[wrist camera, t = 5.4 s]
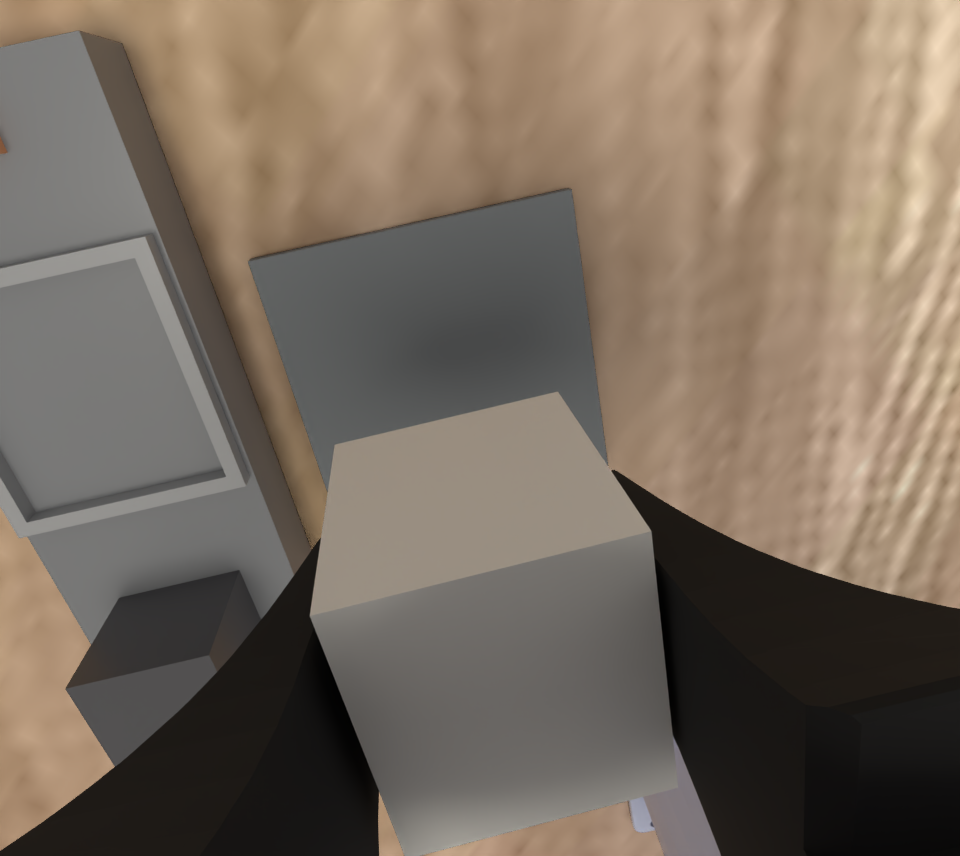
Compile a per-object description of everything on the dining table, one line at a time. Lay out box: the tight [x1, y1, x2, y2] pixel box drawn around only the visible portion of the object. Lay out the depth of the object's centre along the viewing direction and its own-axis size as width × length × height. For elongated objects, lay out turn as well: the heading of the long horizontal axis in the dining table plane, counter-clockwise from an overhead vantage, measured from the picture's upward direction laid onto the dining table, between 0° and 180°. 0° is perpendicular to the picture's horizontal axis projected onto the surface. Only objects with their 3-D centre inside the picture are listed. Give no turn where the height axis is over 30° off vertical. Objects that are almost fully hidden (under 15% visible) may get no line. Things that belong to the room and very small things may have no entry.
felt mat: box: [248, 188, 608, 492], centre depth 20 cm, size 9×9×1 cm
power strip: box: [0, 31, 311, 767], centre depth 20 cm, size 6×29×6 cm, turn 11°
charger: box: [310, 392, 678, 856], centre depth 11 cm, size 4×4×4 cm
